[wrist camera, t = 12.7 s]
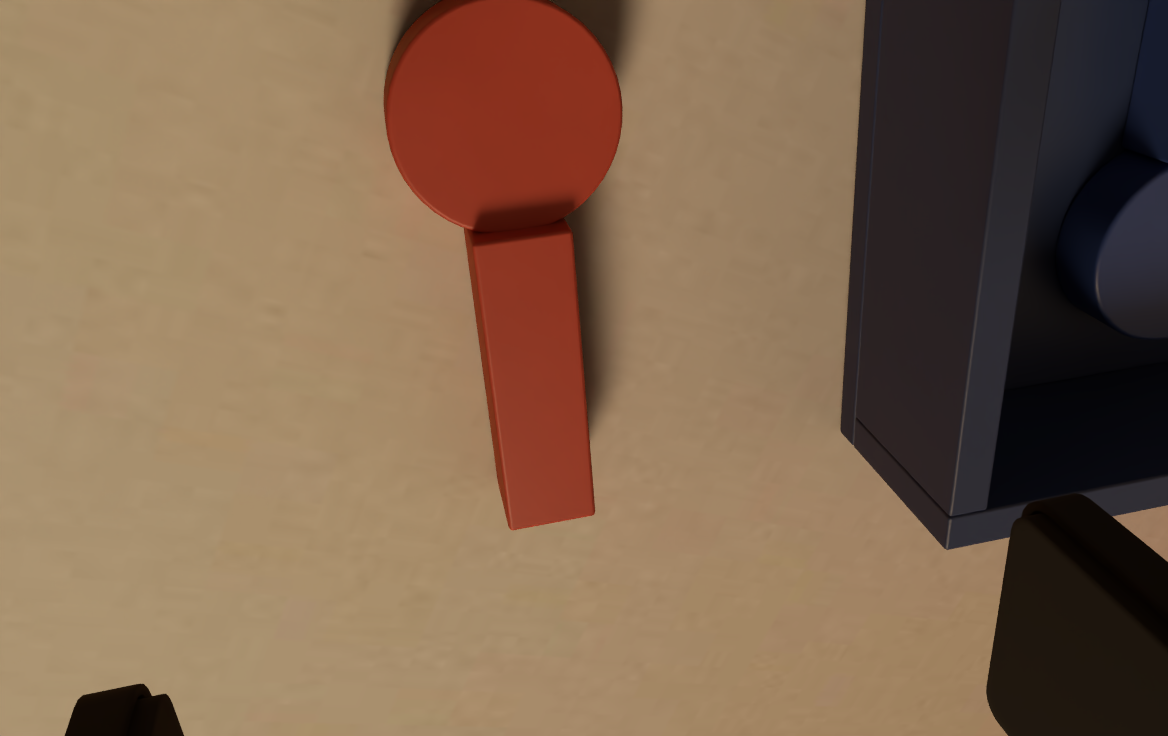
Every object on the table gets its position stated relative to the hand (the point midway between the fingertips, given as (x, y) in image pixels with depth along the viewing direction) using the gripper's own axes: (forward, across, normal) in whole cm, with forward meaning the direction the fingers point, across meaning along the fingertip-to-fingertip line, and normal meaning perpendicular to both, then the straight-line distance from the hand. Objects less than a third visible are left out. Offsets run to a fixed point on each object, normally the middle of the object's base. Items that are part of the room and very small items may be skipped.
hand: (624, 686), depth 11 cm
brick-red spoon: (+8, 0, -2) cm, 8 cm away
